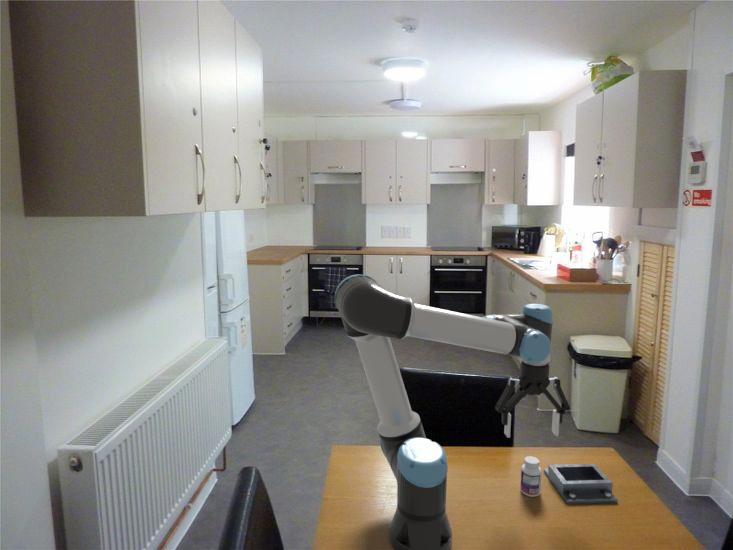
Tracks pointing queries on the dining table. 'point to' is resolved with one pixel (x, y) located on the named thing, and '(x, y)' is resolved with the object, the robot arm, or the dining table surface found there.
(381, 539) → the dining table surface
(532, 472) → the pill bottle
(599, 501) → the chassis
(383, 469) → the dining table surface
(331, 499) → the dining table surface
